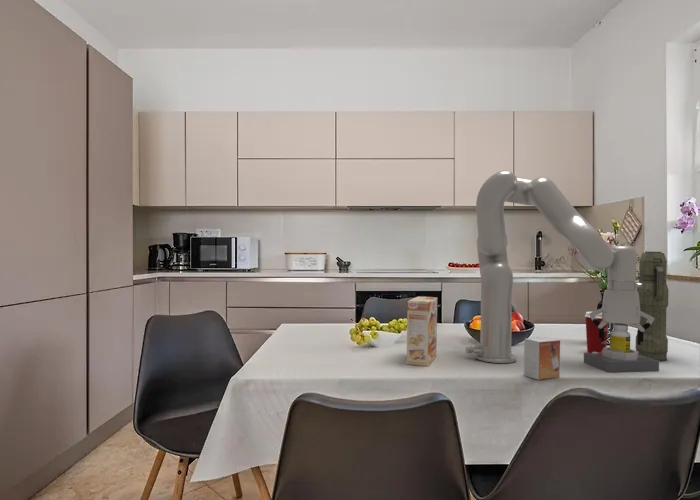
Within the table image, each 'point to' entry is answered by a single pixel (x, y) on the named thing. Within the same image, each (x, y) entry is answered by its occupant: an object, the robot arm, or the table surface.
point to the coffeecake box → (421, 330)
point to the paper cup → (595, 334)
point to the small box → (542, 358)
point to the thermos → (653, 305)
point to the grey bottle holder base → (621, 361)
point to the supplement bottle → (620, 339)
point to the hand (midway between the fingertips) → (620, 342)
